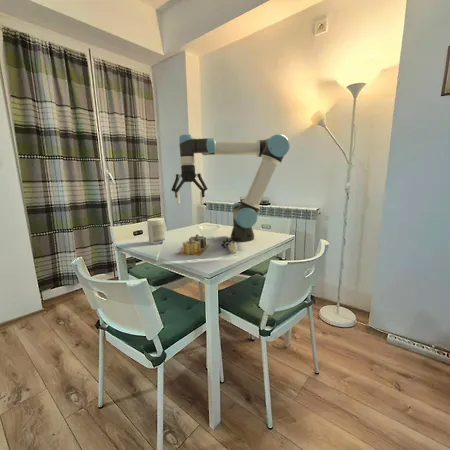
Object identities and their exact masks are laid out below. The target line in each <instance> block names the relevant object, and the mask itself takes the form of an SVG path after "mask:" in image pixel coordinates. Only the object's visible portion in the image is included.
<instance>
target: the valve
mask: <svg viewBox="0 0 450 450" xmlns="http://www.w3.org/2000/svg"><path fill="white" fill-rule="evenodd" d="M220 245H221V247H222V249H228V250H229V253H230V254H237V253H238V242H237V241H233V240H232V239H229V238H225V240H224V239H223V240H222V243H221V244H220ZM236 256H238V255H235V257H236Z"/></svg>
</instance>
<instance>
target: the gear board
mask: <svg viewBox="0 0 450 450" xmlns="http://www.w3.org/2000/svg"><path fill="white" fill-rule="evenodd" d="M199 236H200V235H199V234H197V233H196V235H195V237H196V239H199ZM188 241H189V244H192V243H193V239H190V240H189V239H188ZM210 246H211V244H207V243H206V246H205V248H200V249H201V252H200V253H197V254H190V255H188V254H183V249H182V250H180V251H179V252H178V253H177V255H181V256H198V257H199V256H201V255H203V253H204V252H205V251H206V250H208V248H209V247H210Z"/></svg>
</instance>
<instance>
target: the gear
mask: <svg viewBox="0 0 450 450" xmlns="http://www.w3.org/2000/svg"><path fill="white" fill-rule="evenodd" d="M190 239H193V240H195V241H200V248H205V246H206V244H207V238H206V236H203V235H201V236H200V235H199V239H196V236H191V237H189V238H188V241H189V240H190Z"/></svg>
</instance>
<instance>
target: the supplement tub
mask: <svg viewBox="0 0 450 450" xmlns="http://www.w3.org/2000/svg"><path fill="white" fill-rule="evenodd" d="M146 221H147V224H146V225H147V232H148V233H147V234H148V242H149V244H151V245H159V244H163V243H164V241H166V237H165V235H166V233H165V223H164V218H162V217H154V218H153V217H152V218H148V219H147V220H146Z"/></svg>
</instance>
